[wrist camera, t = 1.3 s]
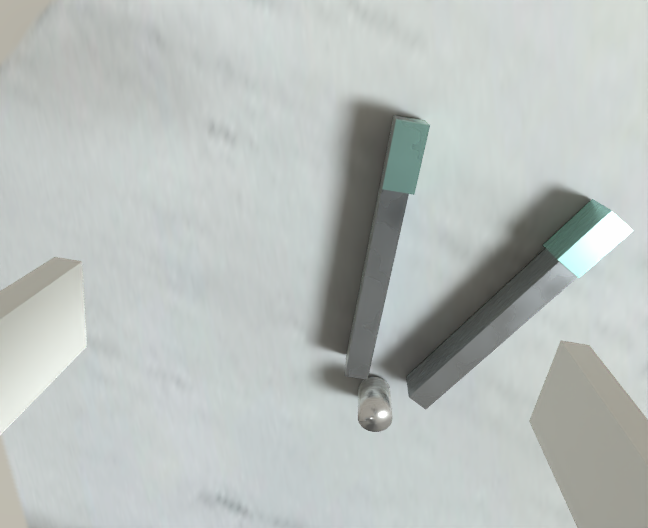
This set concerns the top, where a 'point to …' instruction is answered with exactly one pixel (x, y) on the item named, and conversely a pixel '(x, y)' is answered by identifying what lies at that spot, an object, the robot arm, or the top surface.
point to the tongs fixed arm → (501, 312)
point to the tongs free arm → (385, 238)
